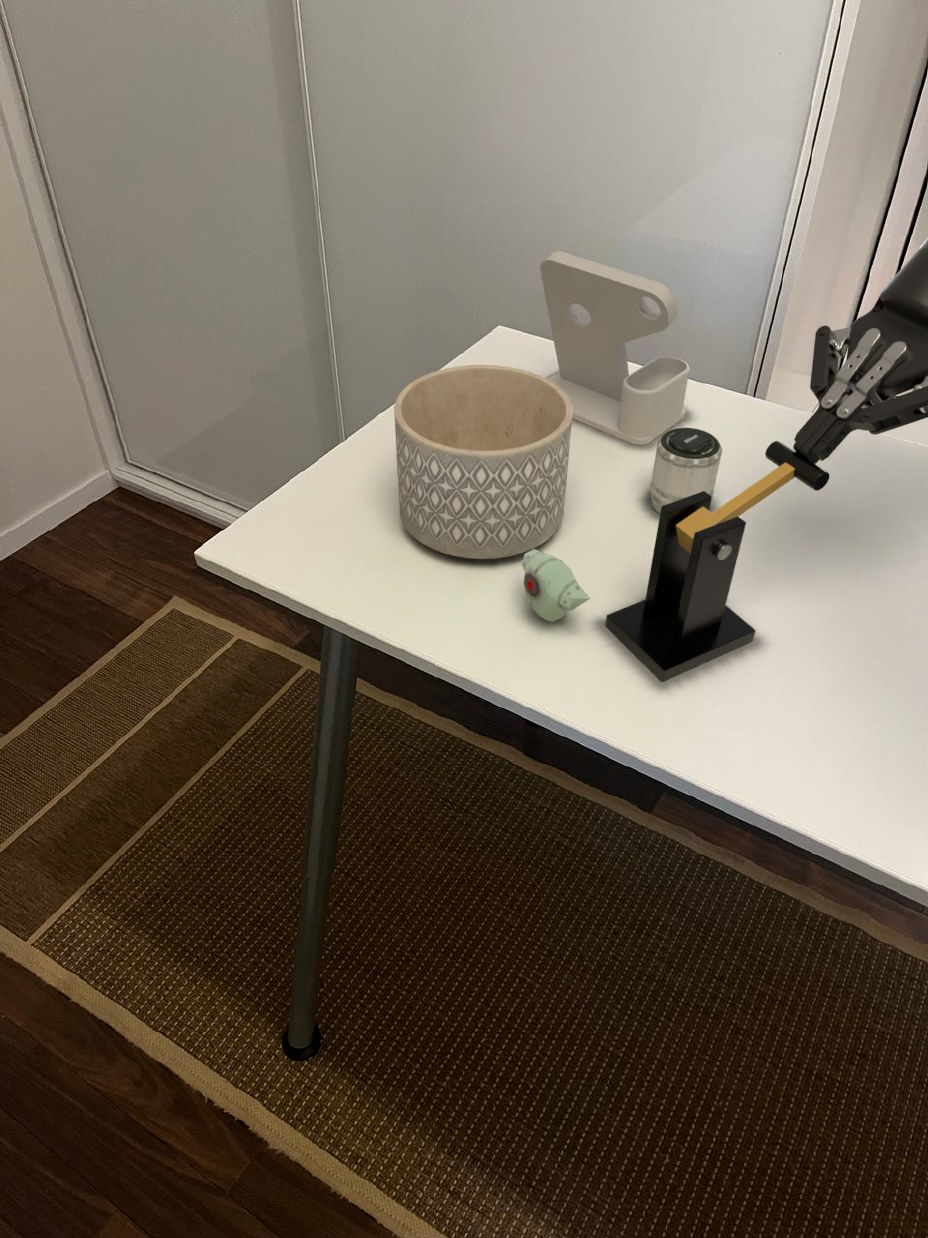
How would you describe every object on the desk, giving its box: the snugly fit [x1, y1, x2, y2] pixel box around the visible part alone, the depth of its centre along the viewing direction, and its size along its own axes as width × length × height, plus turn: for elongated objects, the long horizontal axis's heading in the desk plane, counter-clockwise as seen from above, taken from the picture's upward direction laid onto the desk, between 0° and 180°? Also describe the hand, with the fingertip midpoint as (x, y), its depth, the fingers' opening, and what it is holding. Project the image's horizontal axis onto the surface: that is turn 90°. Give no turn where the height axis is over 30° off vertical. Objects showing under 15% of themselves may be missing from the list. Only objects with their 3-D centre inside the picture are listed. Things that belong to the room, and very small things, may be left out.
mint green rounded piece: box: [521, 548, 591, 622], centre depth 81 cm, size 8×4×7 cm, turn 33°
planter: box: [393, 364, 573, 560], centre depth 91 cm, size 16×16×13 cm
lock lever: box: [676, 440, 830, 553], centre depth 75 cm, size 12×6×2 cm, turn 120°
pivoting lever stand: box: [605, 491, 756, 683], centre depth 78 cm, size 10×8×13 cm
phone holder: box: [539, 250, 690, 446], centre depth 106 cm, size 17×10×18 cm, turn 49°
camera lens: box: [650, 427, 723, 515], centre depth 94 cm, size 6×6×8 cm
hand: (803, 456), depth 76 cm, fingers closed
